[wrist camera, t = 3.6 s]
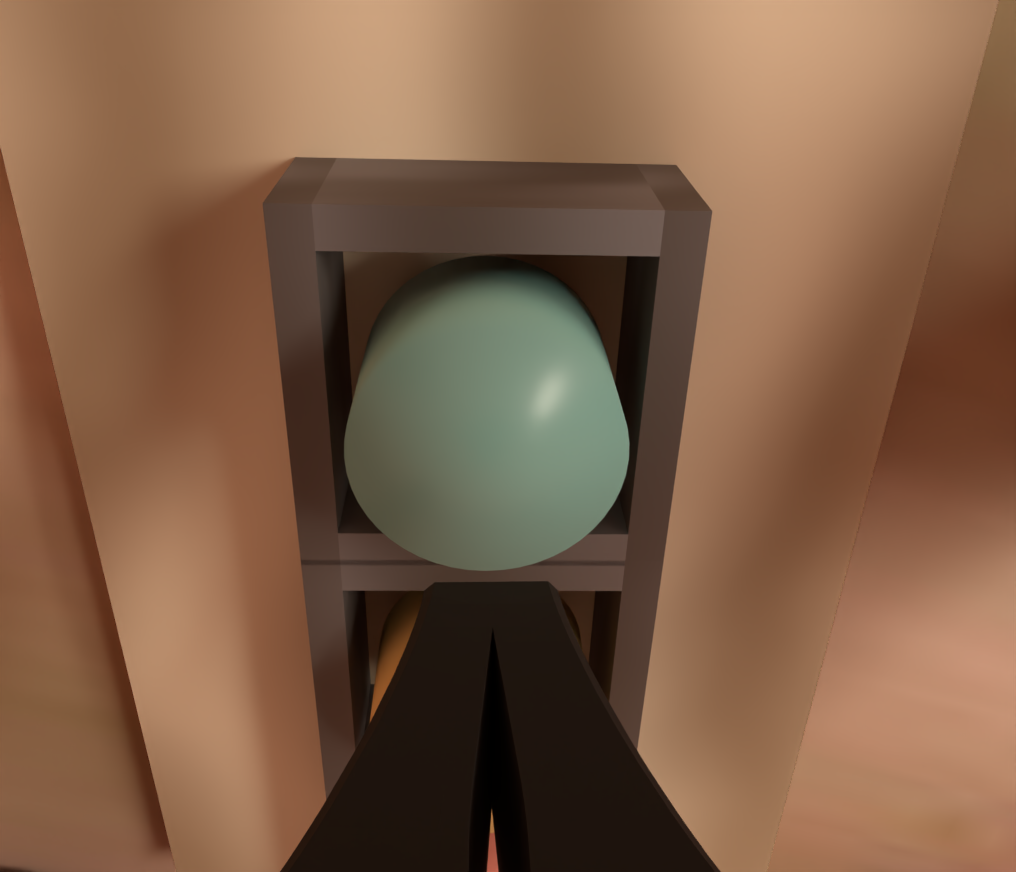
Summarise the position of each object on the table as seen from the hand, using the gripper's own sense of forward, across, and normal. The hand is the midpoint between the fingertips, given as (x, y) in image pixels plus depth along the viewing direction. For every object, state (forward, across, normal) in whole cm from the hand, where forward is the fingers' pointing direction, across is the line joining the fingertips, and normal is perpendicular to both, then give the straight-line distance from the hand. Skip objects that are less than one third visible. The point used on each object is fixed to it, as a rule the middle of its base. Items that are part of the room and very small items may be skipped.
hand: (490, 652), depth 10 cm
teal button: (+5, 0, -1) cm, 5 cm away
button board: (+7, 0, +4) cm, 8 cm away
